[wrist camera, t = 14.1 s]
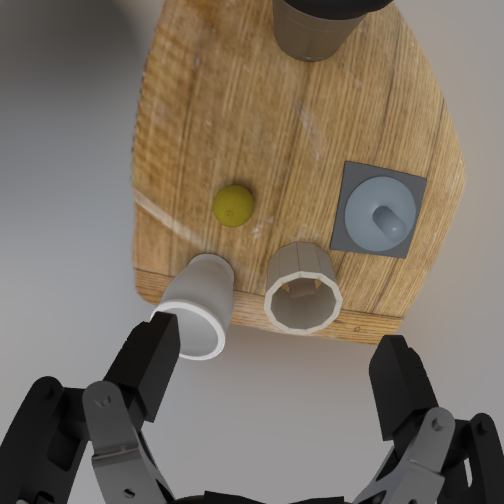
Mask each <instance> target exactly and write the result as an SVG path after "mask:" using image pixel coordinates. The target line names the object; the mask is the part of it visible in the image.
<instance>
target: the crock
mask: <svg viewBox="0 0 504 504" xmlns="http://www.w3.org/2000/svg"><path fill="white" fill-rule="evenodd" d="M300 277H303V278H313V279H319V280H321V281H322V282H323V283H322V284H321V285H320V287H319V288H318V289H317V290H316V293H313V294H308V295H303V296H298V297H292V298H291V294H289V293H288V292H286V291H284V290H283V289H281V288H280V286H281V285H282V284H283V283H286V282H288V281H291V280H294V279H297V278H300ZM342 302H343V299H342V295H341V292H340V288H339V285H338V282H337V278H336V275H335V272H334V269H333V266H332V263H331V260H330V258H329V255H328V253H326V252H325V251H324V250H322V249H321V248H320V247H318V246H317V245H315V244H312V243H303V242H297V243H296V242H294V243H292V244H289V245H287V246H284V247H281V248H280V249H278V251H277V252H276V253H275V254H274V255H273V257H272V258H271V259H270V260H269V264H268V272H267V282H266V292H265V302H264V311H265V313H266V314H267V316H268V318H269V320H270V321H271V323H272V324H273V325H275V326H277V327H278V328H280V329H282V330H284V331H286V332H288V333H299V334H308V333H311V332H315V331H318V330H321V329H324V328H325V327H327V326H328V325H329V324H330V323H331V322H332V321H333V320H334V319H335V318H337V317H338V314H339V311H340V308H341V305H342Z"/></svg>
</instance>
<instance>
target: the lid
mask: <svg viewBox="0 0 504 504" xmlns="http://www.w3.org/2000/svg"><path fill="white" fill-rule="evenodd" d="M415 214H416V208H415V202H414V199H413V196H412V194H411V192H410V191H409V189H408V188H407V187H406V186H405V185H404V184H403V183H401V182H400V181H398V180H396V179H394V178H391V177H387V176H376V177H372V178H369V179H367V180H365V181H363V182H361V183H360V184H359V185H358V186H357V187H356V188H355V189H354V190H353V191H352V193H351V194H350V196H349V198H348V200H347V202H346V205H345V210H344V221H345V226H346V229H347V231H348V233H349V235H350V237H351V238H352V239H353V241H354V242H355V243H356V244H357V245H359V246H360V247H362V248H364V249H367V250H370V251H385V250H388V249H391V248H393V247H395V246H397V245H398V244H400V243H401V242H402V241H403V240H404V239H405V238H406V237H407V235H408V234H409V232H410V231H411V229H412V227H413V224H414V221H415Z"/></svg>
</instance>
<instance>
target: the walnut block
mask: <svg viewBox="0 0 504 504" xmlns="http://www.w3.org/2000/svg"><path fill="white" fill-rule="evenodd" d="M288 286H289V290H290V294H291V298H292V297H298V296H303V295H308V294H313V293H316V289H315V283H314V279H313V278H303V277H300V278H297V279H294V280H291V281H288Z"/></svg>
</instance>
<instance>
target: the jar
mask: <svg viewBox="0 0 504 504" xmlns="http://www.w3.org/2000/svg"><path fill="white" fill-rule="evenodd" d="M233 284H234V273H233V270H232V268H231V266H230V265H229V264H228V263H227V262H226V261H225V260H224V259H223V258H221V257H219V256H217V255H214V254H201V255H198V256H196V257H195V258H193V259H192V260H191V261H190V263H189V265H188V266H187V267H185V268H184V269H183V270H182V271H181V272H180V273H179V274H178V275H177V276H176V277H175V278H174V279H173V280H172V281H171V282H170V284H169V285H168V287H167V288H166V290H165V292H164V294H163V296H162V299H161V302H160V303H159V304H158V305H157V306H156V307H155V309H154V310H153V312H152V315H151V319H152V317H153V316H154V314H155V312H156V311H161V312H167V313H172V314H176V315H177V319H178V327H179V334H180V342H181V347H180V353H179V356H180V357H183V358H187V359H191V360H206V359H210V358H213V357H215V356H216V355H218V354H219V353H220V352H221V351H222V349H223V347H224V345H225V340H226V333H225V332H226V330H227V328H228V326H229V323H230V321H231V317H232V312H233ZM151 319H150V321H151Z"/></svg>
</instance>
